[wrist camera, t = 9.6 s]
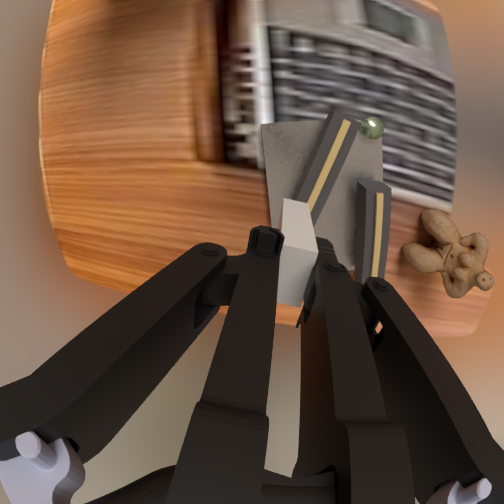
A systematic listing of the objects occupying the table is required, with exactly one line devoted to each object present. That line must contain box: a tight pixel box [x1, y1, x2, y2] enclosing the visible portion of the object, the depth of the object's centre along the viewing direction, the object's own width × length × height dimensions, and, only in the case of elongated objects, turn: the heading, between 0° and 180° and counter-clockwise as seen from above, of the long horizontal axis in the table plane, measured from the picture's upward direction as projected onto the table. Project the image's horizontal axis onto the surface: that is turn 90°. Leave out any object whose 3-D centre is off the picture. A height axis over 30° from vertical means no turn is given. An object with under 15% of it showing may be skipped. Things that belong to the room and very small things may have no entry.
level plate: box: [261, 117, 384, 271], centre depth 36 cm, size 22×16×2 cm
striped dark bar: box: [292, 111, 361, 228], centre depth 31 cm, size 3×14×6 cm, turn 159°
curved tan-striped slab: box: [354, 181, 391, 284], centre depth 33 cm, size 3×14×6 cm, turn 6°
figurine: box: [402, 209, 495, 298], centre depth 31 cm, size 11×9×15 cm
